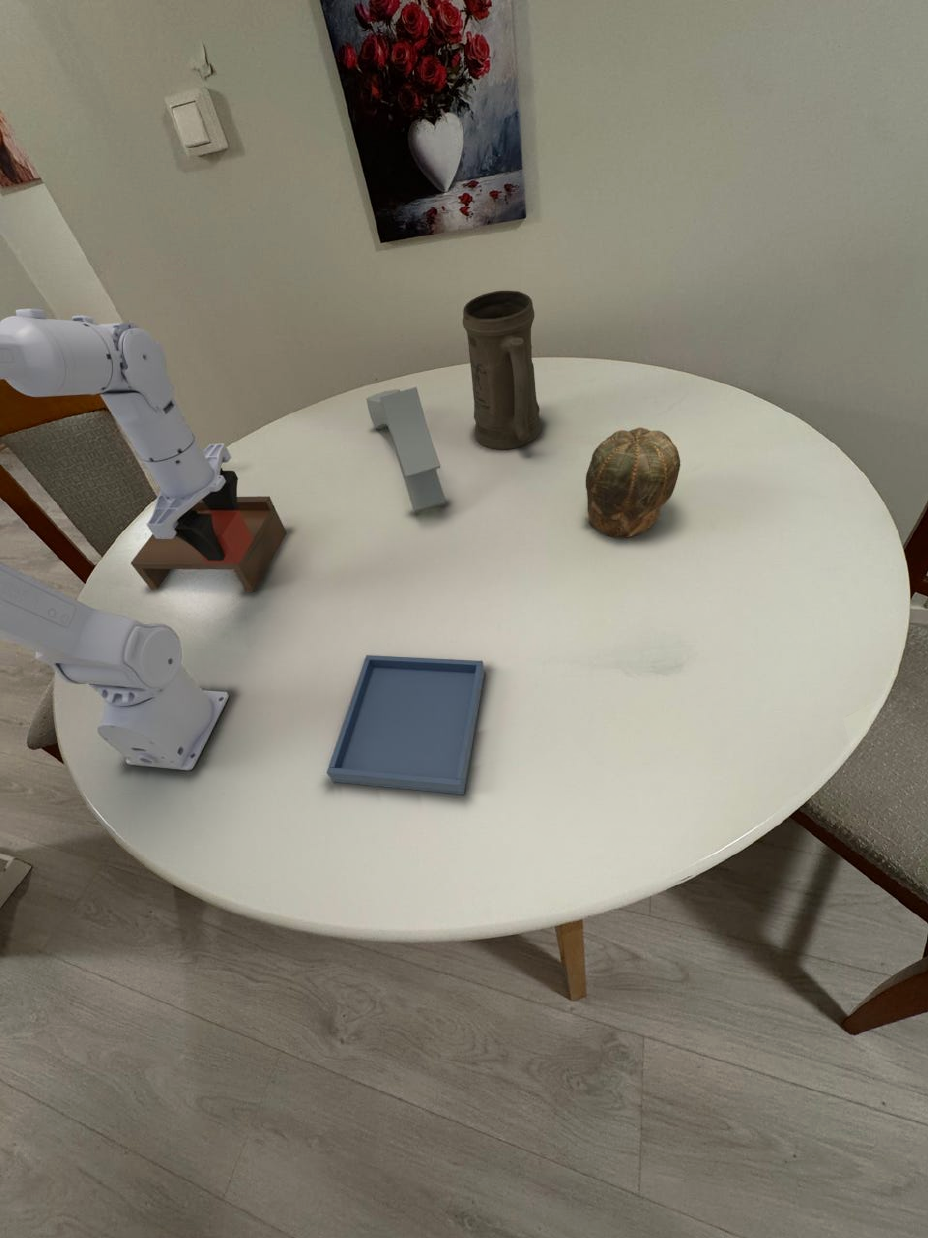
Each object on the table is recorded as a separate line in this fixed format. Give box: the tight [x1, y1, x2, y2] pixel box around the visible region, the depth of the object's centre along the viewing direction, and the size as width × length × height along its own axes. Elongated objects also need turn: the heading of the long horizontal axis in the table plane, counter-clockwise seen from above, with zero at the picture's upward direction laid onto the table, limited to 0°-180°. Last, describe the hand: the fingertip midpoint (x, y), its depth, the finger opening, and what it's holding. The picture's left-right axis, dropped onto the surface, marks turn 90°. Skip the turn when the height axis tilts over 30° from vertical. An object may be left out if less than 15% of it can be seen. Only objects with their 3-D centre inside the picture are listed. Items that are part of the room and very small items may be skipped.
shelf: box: [130, 495, 287, 593], centre depth 80 cm, size 12×16×6 cm
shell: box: [585, 427, 681, 539], centre depth 72 cm, size 11×11×12 cm
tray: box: [326, 654, 486, 796], centre depth 60 cm, size 14×13×2 cm
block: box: [200, 510, 254, 564], centre depth 69 cm, size 4×4×4 cm
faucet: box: [366, 386, 447, 515], centre depth 88 cm, size 6×17×30 cm
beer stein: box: [462, 290, 542, 450], centre depth 86 cm, size 15×11×20 cm
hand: (225, 544), depth 70 cm, fingers closed on block, 4 cm apart
